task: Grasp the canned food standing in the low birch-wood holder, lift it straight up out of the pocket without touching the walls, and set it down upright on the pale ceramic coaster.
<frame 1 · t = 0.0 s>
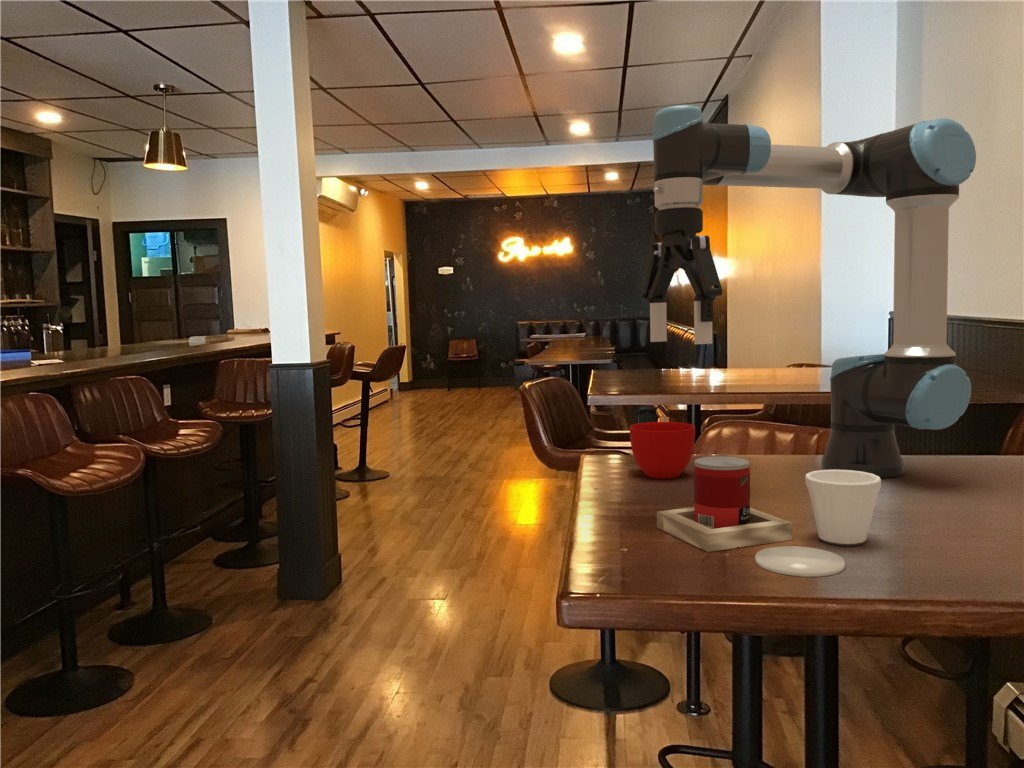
hand: (679, 342, 130), 28 cm above the table, fingers open, 13 cm apart
canned food: (722, 534, 120), resting in holder
cup: (842, 541, 115), on the table
ceramic cup: (666, 474, 165), on the table
holder: (722, 533, 120), on the table
coaster: (799, 562, 105), on the table
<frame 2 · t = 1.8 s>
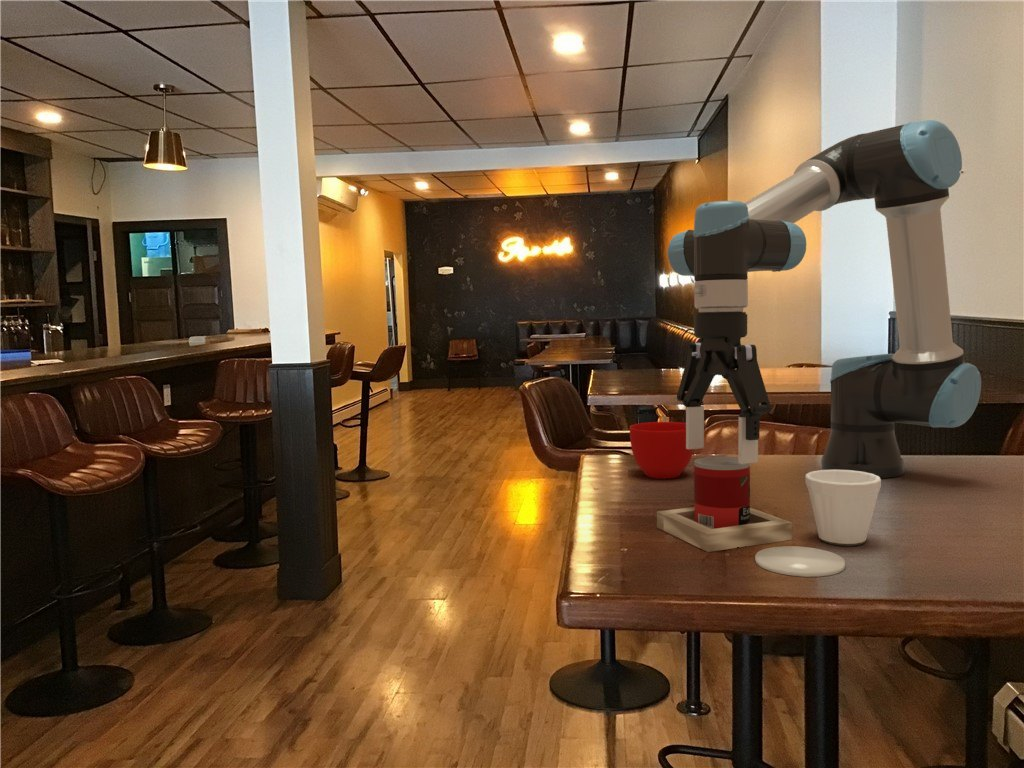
hand: (720, 455, 119), 12 cm above the table, fingers open, 13 cm apart
nothing on the table moved.
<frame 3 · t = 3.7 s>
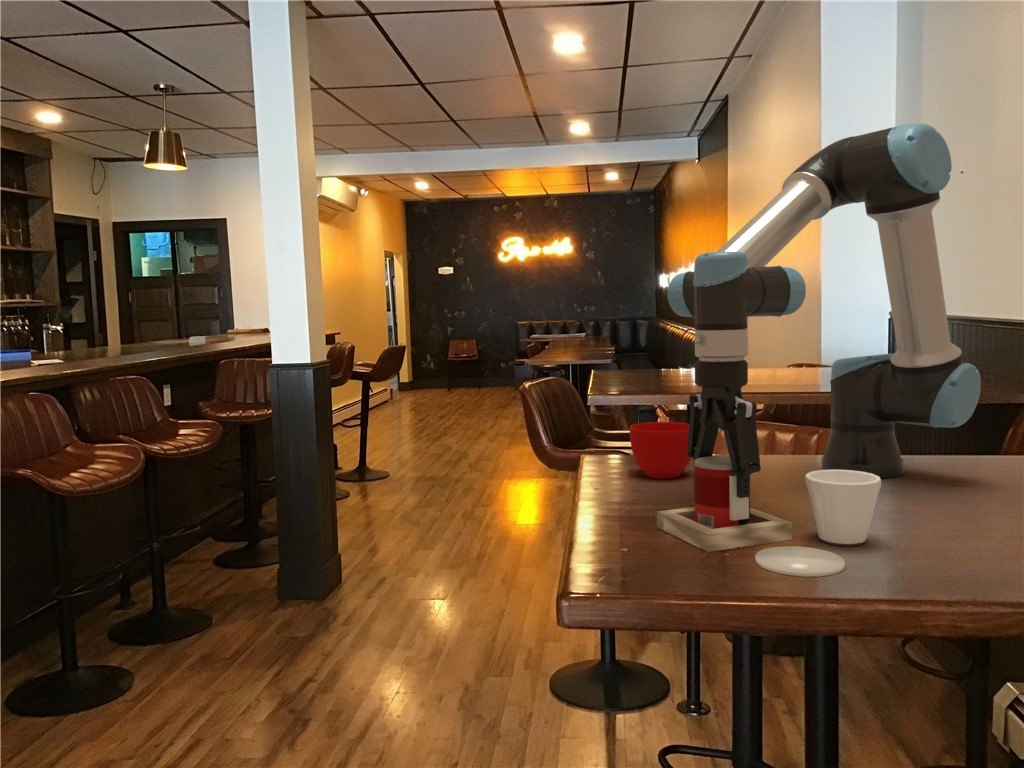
hand: (722, 512, 120), 3 cm above the table, fingers closed on canned food, 8 cm apart
canned food: (722, 534, 120), resting in holder, touching gripper
everything else where it was.
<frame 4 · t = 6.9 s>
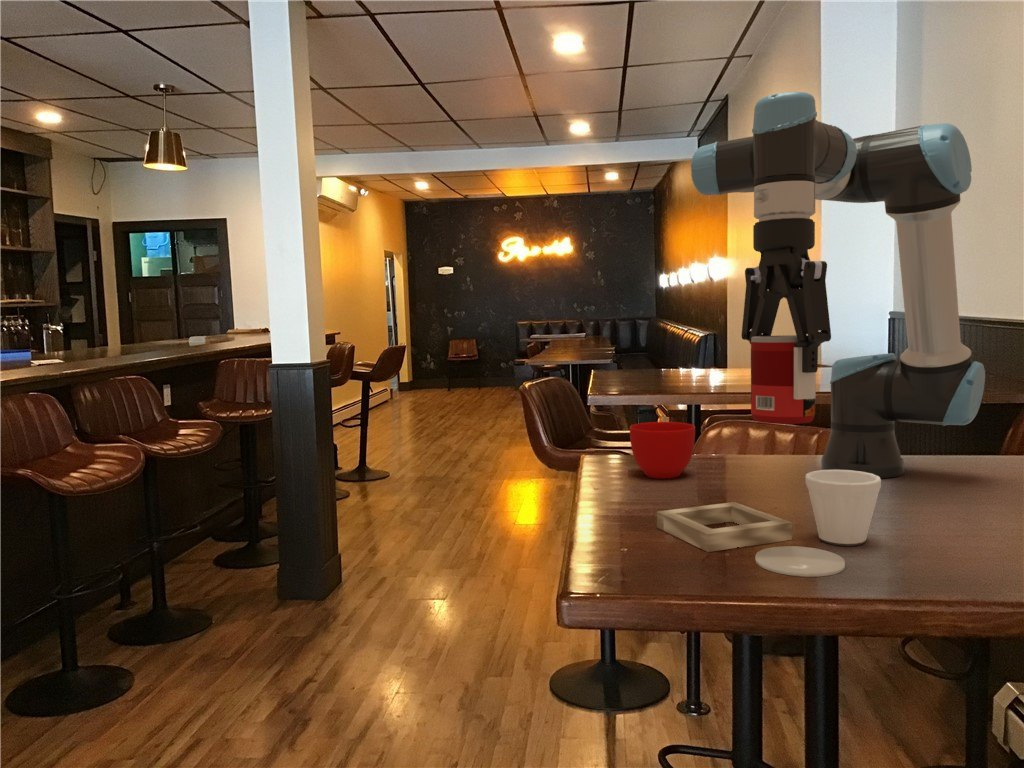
hand: (783, 395, 106), 22 cm above the table, fingers closed on canned food, 8 cm apart
canned food: (782, 421, 106), point 18 cm above the table, touching gripper
everything else where it was.
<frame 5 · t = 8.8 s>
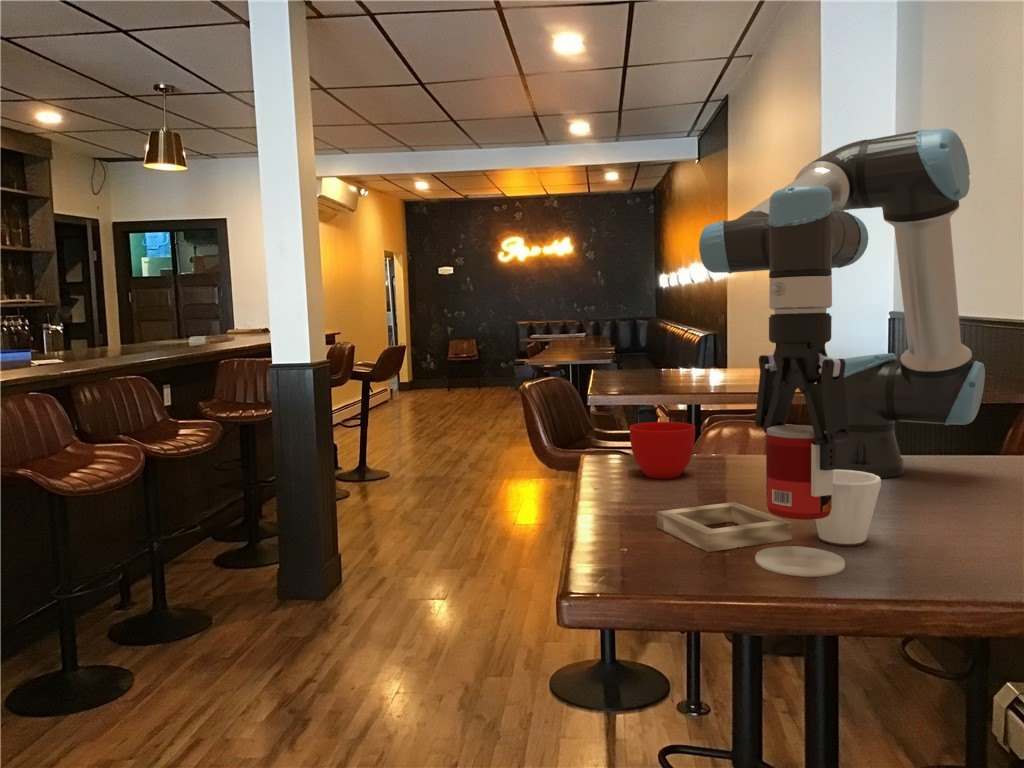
hand: (799, 488, 104), 10 cm above the table, fingers closed on canned food, 8 cm apart
canned food: (798, 514, 105), point 7 cm above the table, touching gripper
everything else where it was.
when the fingers open (5 cm above the table, at t = 10.4 s): canned food drops 1 cm, resting on coaster.
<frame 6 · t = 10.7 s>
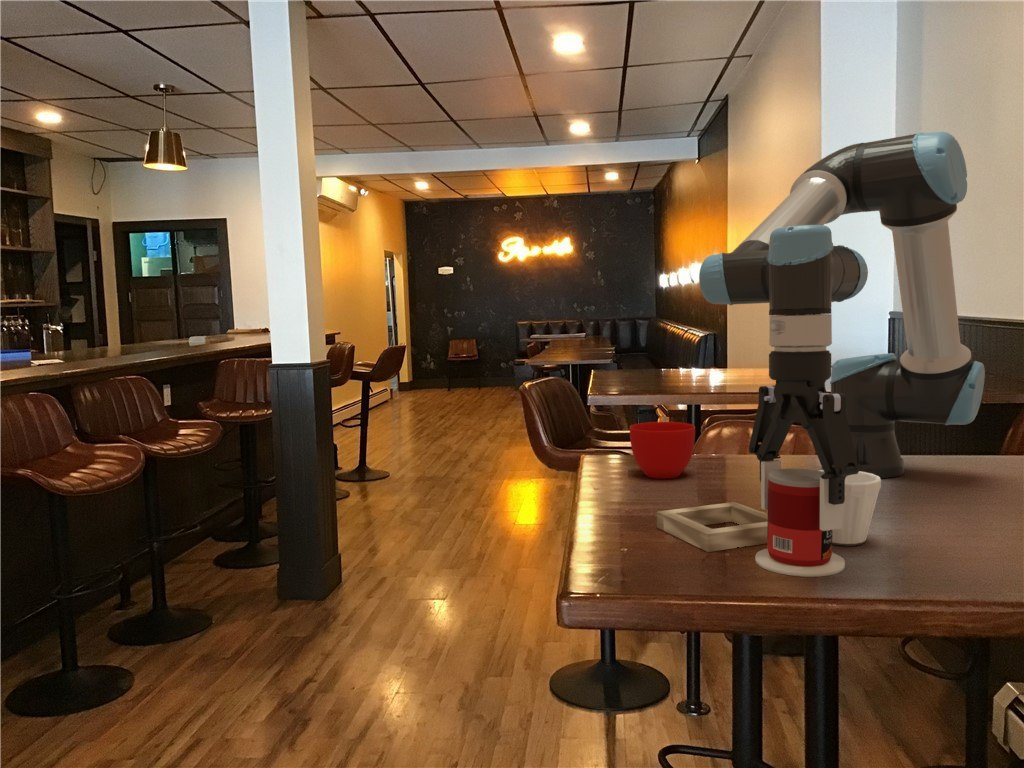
hand: (799, 518, 105), 6 cm above the table, fingers open, 11 cm apart
canned food: (799, 558, 105), point 1 cm above the table, touching coaster
everything else where it was.
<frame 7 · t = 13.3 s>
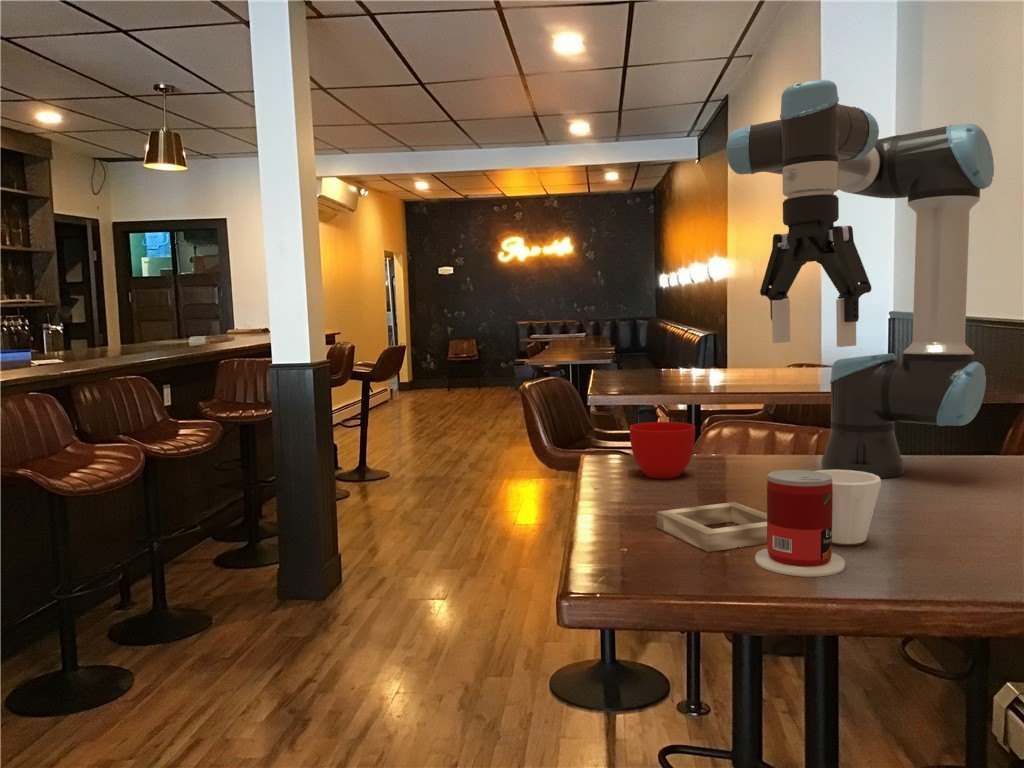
hand: (812, 344, 118), 28 cm above the table, fingers open, 13 cm apart
nothing on the table moved.
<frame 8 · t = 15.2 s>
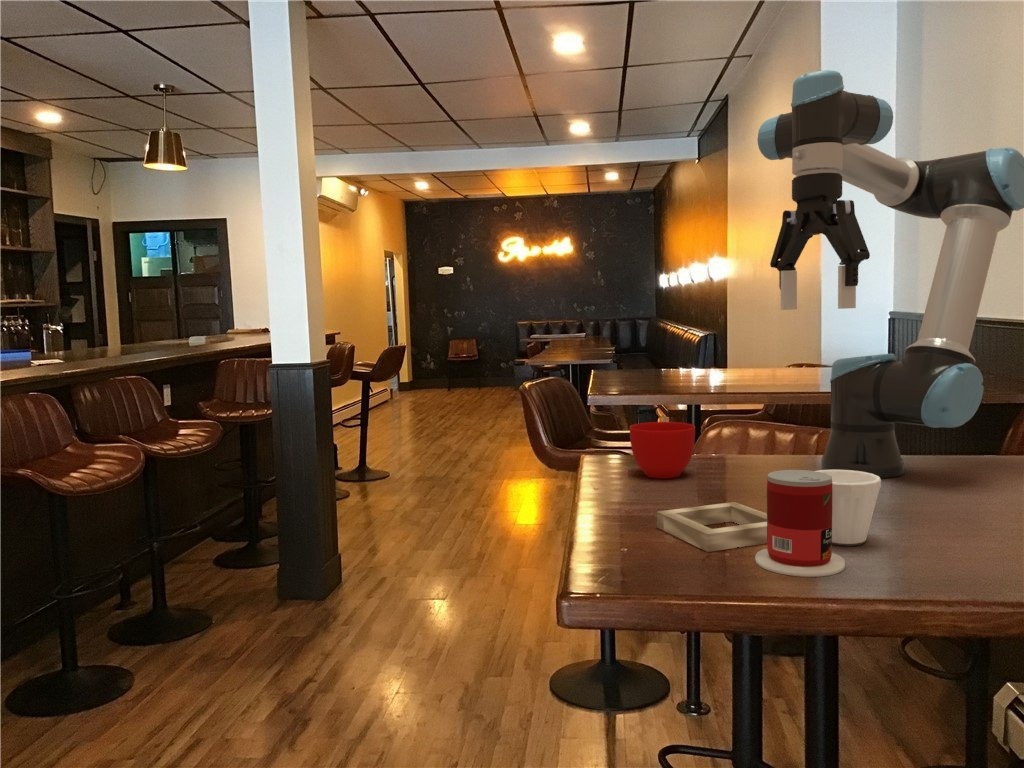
hand: (816, 309, 130), 33 cm above the table, fingers open, 13 cm apart
nothing on the table moved.
at the end: canned food inside the target area on the coaster (0.0 cm from its centre), point 0.4 cm above the coaster's base; canned food tilted 0°; the gripper is holding nothing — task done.
